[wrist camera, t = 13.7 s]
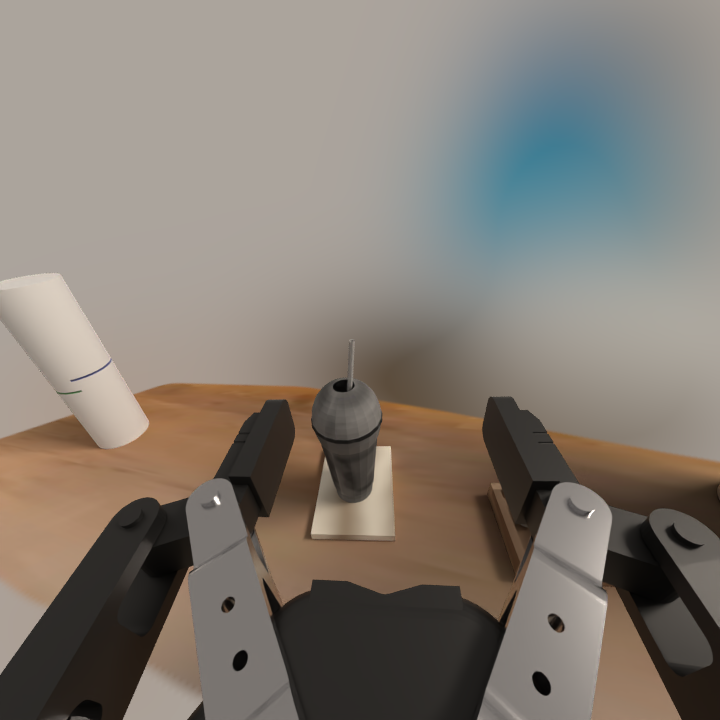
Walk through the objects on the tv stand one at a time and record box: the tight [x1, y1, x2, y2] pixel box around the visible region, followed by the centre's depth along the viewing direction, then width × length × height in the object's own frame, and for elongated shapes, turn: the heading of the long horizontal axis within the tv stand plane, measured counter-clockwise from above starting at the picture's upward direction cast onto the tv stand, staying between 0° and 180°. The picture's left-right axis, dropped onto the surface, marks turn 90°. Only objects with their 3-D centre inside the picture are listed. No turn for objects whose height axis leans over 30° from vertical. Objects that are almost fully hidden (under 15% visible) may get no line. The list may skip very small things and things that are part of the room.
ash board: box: [311, 446, 395, 541], centre depth 36 cm, size 9×12×1 cm
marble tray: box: [487, 483, 612, 586], centre depth 30 cm, size 9×9×4 cm
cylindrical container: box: [0, 273, 149, 449], centre depth 41 cm, size 7×7×25 cm
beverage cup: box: [311, 339, 382, 503], centre depth 30 cm, size 7×7×20 cm
